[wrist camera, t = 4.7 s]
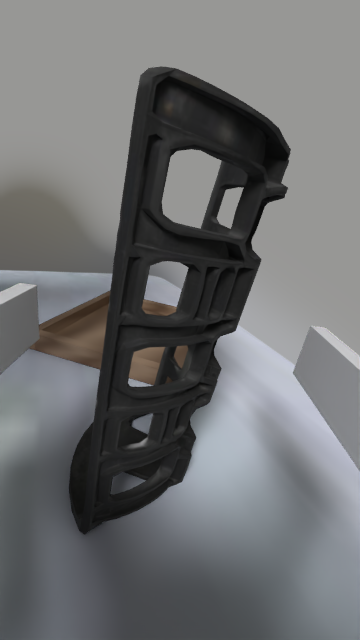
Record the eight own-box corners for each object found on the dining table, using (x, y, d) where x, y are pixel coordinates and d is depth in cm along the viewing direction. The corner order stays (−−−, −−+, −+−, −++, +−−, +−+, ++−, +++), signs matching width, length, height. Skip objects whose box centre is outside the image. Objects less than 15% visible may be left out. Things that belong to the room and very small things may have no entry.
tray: (27, 347, 29) (25, 331, 29) (108, 302, 46) (109, 291, 45) (185, 394, 26) (188, 377, 25) (212, 327, 42) (214, 316, 42)
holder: (109, 391, 24) (156, 136, 16) (189, 414, 24) (275, 170, 16) (36, 523, 14) (69, 18, 6) (175, 561, 14) (382, 107, 6)
